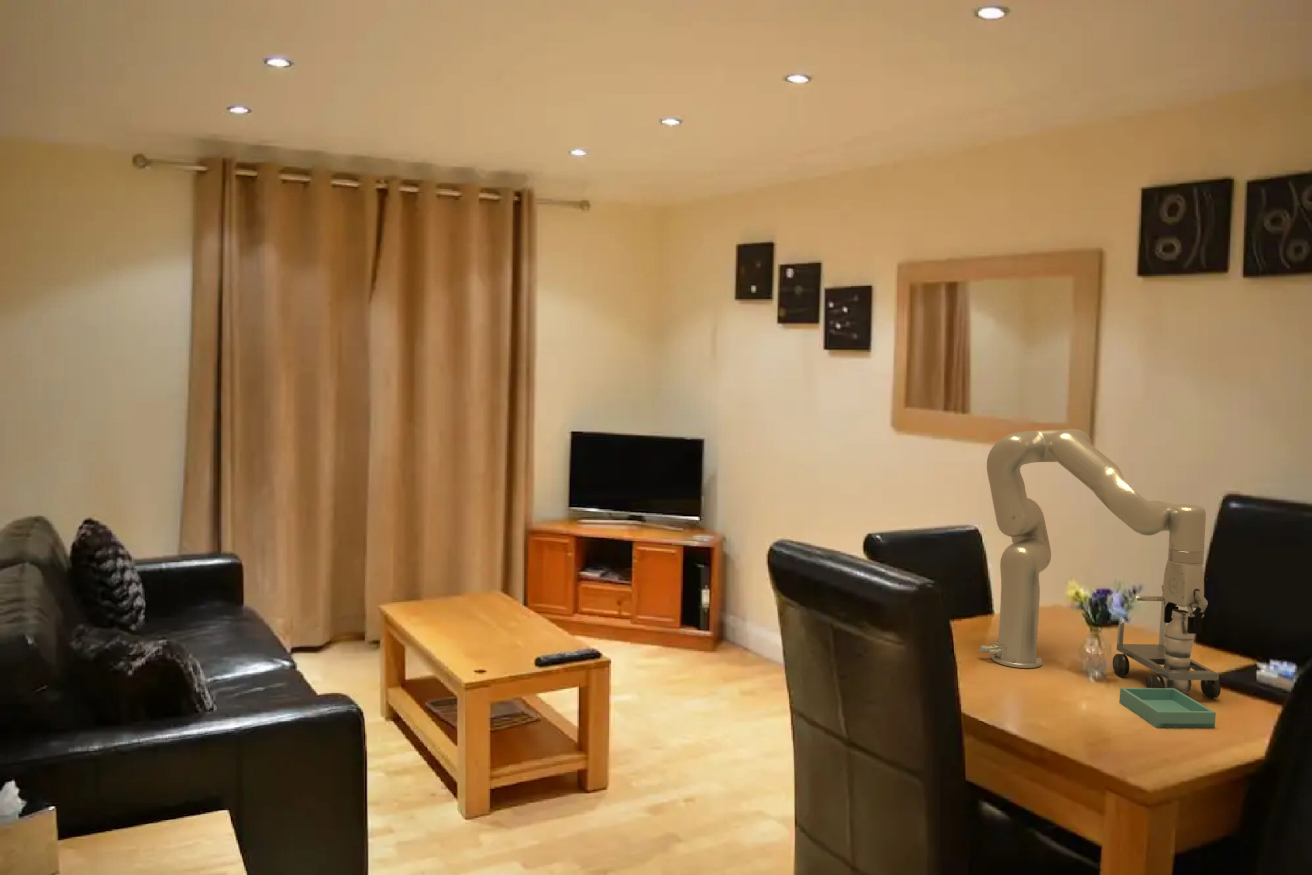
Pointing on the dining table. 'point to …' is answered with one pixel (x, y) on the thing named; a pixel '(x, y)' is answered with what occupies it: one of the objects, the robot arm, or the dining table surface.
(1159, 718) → the tray
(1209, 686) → the trolley
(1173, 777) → the dining table surface
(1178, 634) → the plastic bottle
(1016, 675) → the dining table surface
